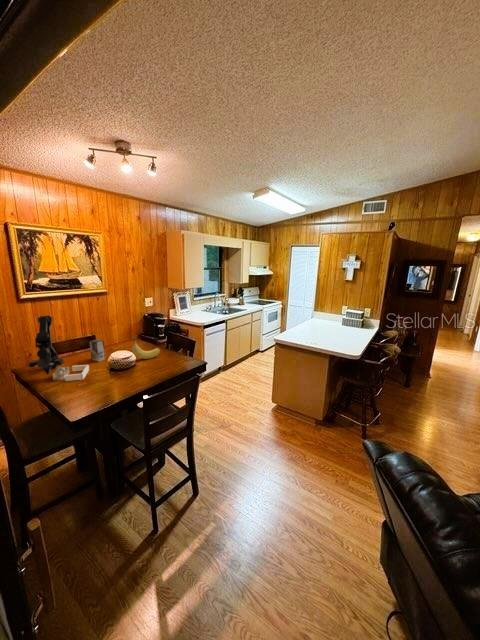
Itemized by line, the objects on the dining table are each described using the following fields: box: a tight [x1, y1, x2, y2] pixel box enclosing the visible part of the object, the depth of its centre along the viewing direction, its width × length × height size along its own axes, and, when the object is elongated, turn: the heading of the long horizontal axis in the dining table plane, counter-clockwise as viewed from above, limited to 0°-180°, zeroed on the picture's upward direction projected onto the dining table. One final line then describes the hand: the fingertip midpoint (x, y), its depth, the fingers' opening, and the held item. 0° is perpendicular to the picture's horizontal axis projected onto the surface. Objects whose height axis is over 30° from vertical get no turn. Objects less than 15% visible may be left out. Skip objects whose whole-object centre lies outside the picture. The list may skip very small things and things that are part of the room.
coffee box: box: [89, 338, 106, 362], centre depth 216 cm, size 9×6×16 cm
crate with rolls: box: [52, 366, 71, 382], centre depth 185 cm, size 7×12×5 cm, turn 17°
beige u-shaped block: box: [64, 364, 90, 382], centre depth 188 cm, size 11×17×4 cm, turn 16°
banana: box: [131, 337, 161, 360], centre depth 221 cm, size 23×6×20 cm, turn 128°
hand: (48, 374), depth 183 cm, fingers closed
